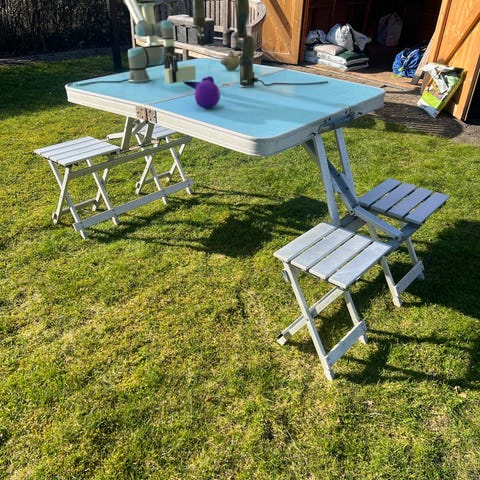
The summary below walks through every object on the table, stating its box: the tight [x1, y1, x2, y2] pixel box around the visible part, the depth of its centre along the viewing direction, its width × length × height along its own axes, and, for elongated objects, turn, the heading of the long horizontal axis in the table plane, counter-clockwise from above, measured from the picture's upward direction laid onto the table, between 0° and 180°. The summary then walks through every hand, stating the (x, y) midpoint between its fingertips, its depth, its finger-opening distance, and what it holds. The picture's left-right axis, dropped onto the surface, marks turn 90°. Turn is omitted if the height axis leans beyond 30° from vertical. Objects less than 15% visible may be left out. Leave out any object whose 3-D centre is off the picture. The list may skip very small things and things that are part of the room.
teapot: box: [220, 50, 243, 72], centre depth 368 cm, size 21×12×15 cm, turn 120°
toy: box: [182, 75, 221, 110], centre depth 265 cm, size 16×18×27 cm
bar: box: [163, 64, 197, 85], centre depth 316 cm, size 23×6×9 cm, turn 131°
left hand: (172, 81), depth 314 cm, fingers closed on bar, 5 cm apart
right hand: (200, 45), depth 286 cm, fingers open, 8 cm apart
